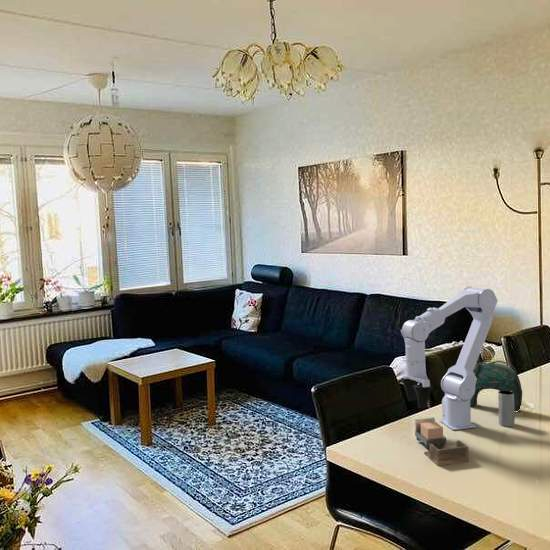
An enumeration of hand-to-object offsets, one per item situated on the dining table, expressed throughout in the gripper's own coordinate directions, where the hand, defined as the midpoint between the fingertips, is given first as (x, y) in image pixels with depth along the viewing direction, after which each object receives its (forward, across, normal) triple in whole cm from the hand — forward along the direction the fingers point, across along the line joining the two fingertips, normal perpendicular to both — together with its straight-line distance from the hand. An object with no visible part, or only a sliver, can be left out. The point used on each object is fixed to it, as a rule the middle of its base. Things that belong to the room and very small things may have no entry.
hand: (417, 404), depth 178 cm
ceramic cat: (+10, -15, +33) cm, 38 cm away
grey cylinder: (+10, +1, +29) cm, 31 cm away
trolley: (+9, +9, 0) cm, 13 cm away
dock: (+9, +19, 0) cm, 21 cm away
